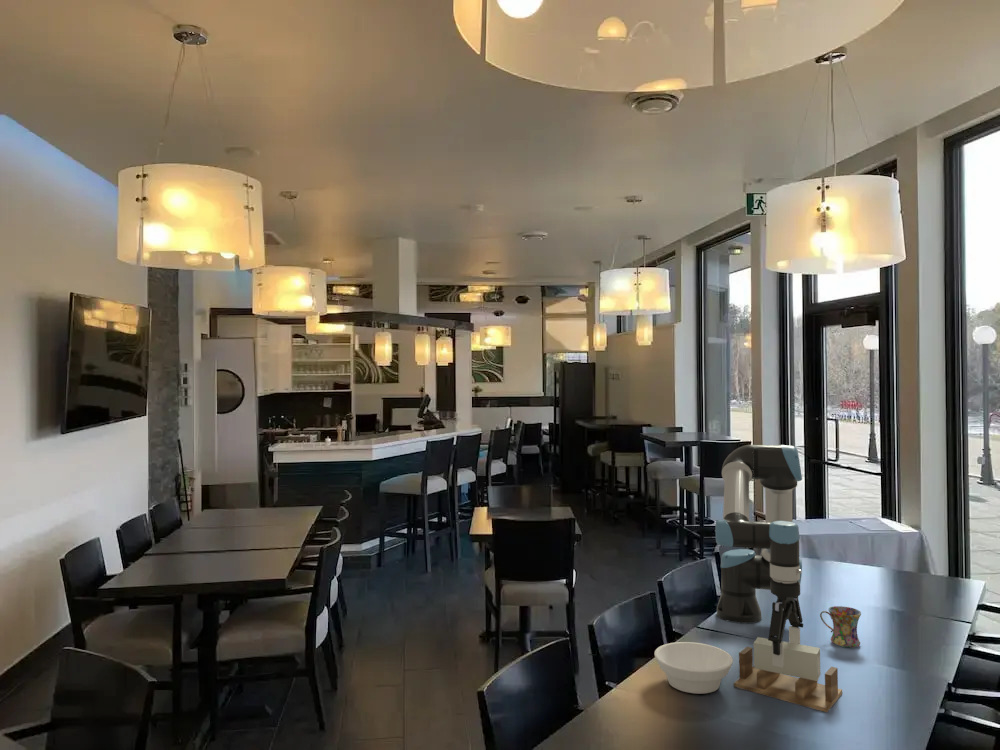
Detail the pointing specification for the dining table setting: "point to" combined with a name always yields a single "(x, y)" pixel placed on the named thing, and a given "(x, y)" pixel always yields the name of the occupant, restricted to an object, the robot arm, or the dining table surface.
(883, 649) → the dining table surface
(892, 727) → the dining table surface
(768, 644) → the block
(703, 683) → the bowl
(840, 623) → the mug
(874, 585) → the dining table surface
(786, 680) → the rack
